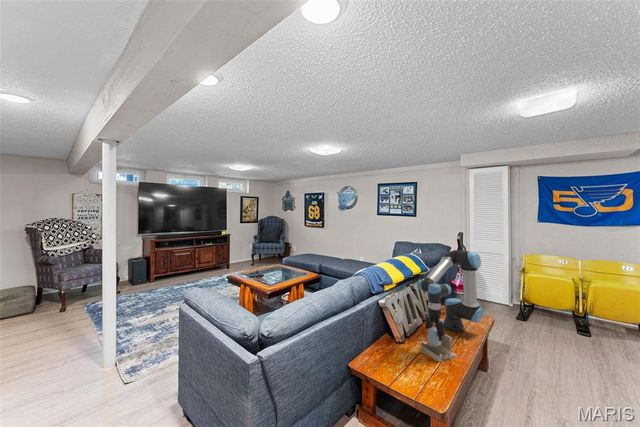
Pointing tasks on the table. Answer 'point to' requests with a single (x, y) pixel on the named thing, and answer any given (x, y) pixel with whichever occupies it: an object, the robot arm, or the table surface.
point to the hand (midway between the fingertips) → (434, 342)
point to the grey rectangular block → (432, 336)
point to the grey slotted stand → (440, 349)
